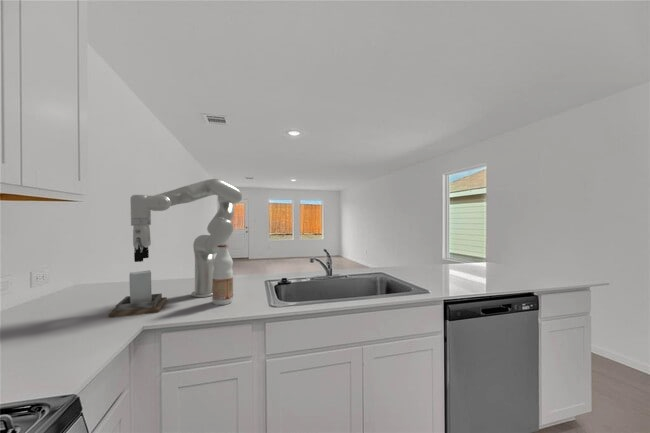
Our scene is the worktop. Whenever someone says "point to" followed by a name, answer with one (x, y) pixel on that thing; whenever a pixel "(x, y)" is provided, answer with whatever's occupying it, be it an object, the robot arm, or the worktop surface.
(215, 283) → the fruit juice
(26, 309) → the worktop surface
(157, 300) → the tray
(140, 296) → the skincare box
